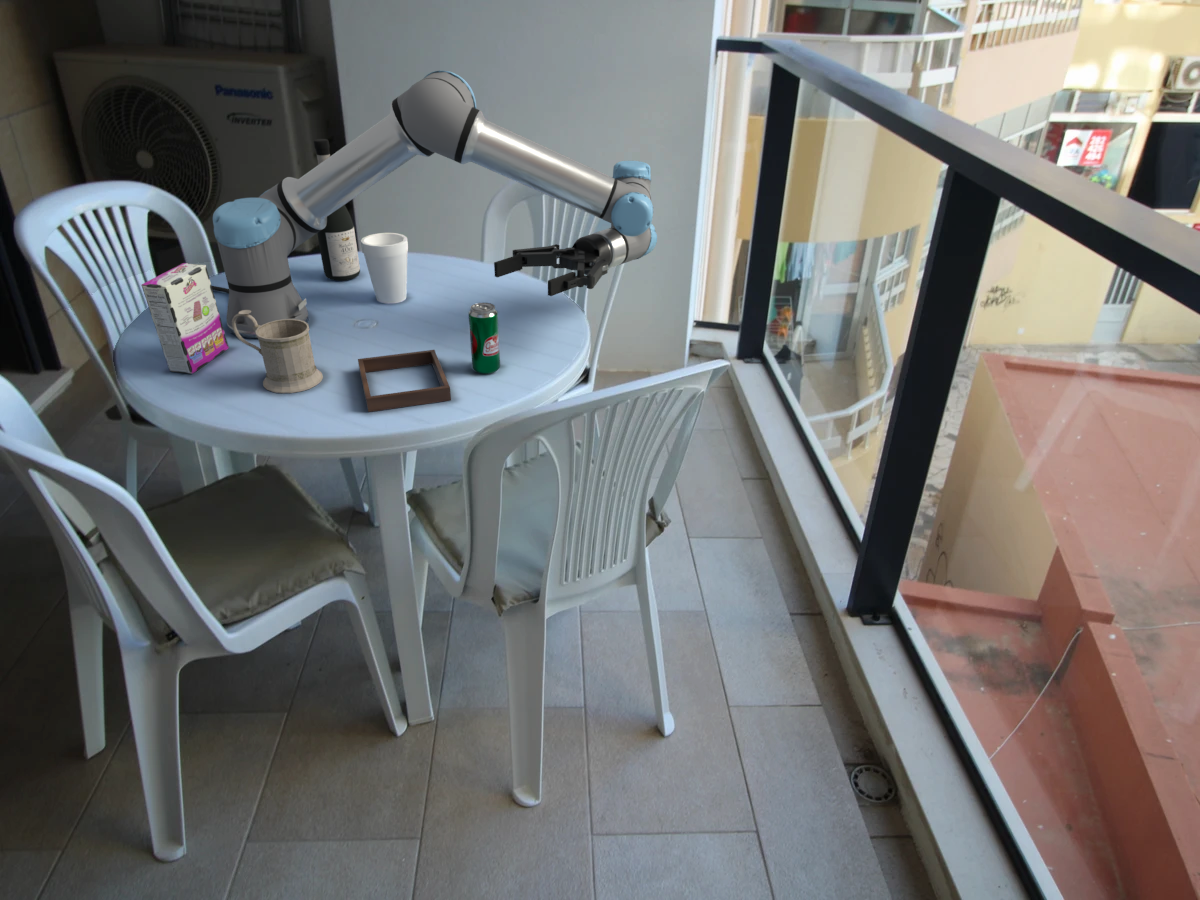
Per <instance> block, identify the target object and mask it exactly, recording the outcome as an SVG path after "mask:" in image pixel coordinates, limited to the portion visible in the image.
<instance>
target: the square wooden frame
mask: <svg viewBox="0 0 1200 900" xmlns="http://www.w3.org/2000/svg"><path fill="white" fill-rule="evenodd" d="M439 360H440V359H439V357H438V354H437V353H436V350H435V349H428V350H421V351H411V352H404V353H395V354H388V355H387V354H386V355H380V356H379V355H378V356H371V357H363V358H362V357H361V358H357V364H358V369H359V375H360V380H361V384H362V388H363V393H364V394H363V395H364V398H365V402H366V407H367V408H366V409H367V412H368V413H373V412H381V411H385V410H386V411H387V410H393V409H400V408H406V407H414V406H422V405H428V404H435V403H442V402H447V401H448V402H449V401H452V394H451V393H452V392H451V387H450V386H451V385H450V384H449V381H448V379H447V377H446V374H445V371H444V369H443V367H442V364H441V363H440V361H439ZM426 365H427V366H428V365H432V367H433V370H434V373H435V375H436V378H437V380H438V382H439V383H438V384H439V385H440V386H435V387H428V388H420V389H412V390H407V391H399V392H398V391H397V392H392V393H385V394H378V395H371V391H370V387H369V382H368V378H367V373H373V372H383V371H388V370H395V369H396V370H398V369H403V368H412V367H419V366H426Z"/></svg>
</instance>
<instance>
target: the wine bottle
mask: <svg viewBox="0 0 1200 900" xmlns="http://www.w3.org/2000/svg"><path fill="white" fill-rule="evenodd" d="M313 146H314V150H315V154H316V159H317V166H318V165H319V164H320V163H322V162H323V161H325V160H326V159H327V158H329V157H330V156H331V154H330V153H331V152H330V147H331V146H330V141H329V140H328V139H327V138H317V139H314V140H313ZM316 236H317V241H318V245H319V251H320V257H321V263H322V269H323V273H324V276H325V277H326V278H327V279H328V280H331V281H335V282H346V281H351V280H355V279H356V278H358V277H359V276H360V274H361V266H360V259H359V252H358V246H357V240H356V239H357V238H356V233H355V225H354V222H353V220H352V216H351V214H350V212H349V210H348V208H347V206H346V204H345V205H343V206H342V207H340V208H339V209H337V210H336V211H334V212H333V213H331V214H330V215H329V216H327V225H326V227H325V228H324V229H322V230H321V231H319V232H318V233H317V234H316Z"/></svg>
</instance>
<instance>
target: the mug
mask: <svg viewBox="0 0 1200 900" xmlns="http://www.w3.org/2000/svg"><path fill="white" fill-rule="evenodd" d="M238 313H239V314H237V315H235V316H234V317H233V319H232V327H233V330H234V332H235V334H236V335H235V334H234V335H235V336H236V338H237V339H238V340H239V341H240V342H242V344H245V345H246V346H248V347H250V348H252V349H254V350H256V351H257V352H258V353H259V354H260V355H261V356H262V360H263V364H264V369H265V378H264V379H263V381H262V385H263V388H264V389H265V390H267V391H269V392H272V393H275V394H295V393H301V392H304V391H308V390H311V389H312V388H314V387H317V385H319V384H320V383H321V382H322V381H323V379H324V376H323V372H322V371H321V370H319V369H318V368H317V365H316V363H315V357H314V353H313V347H312V342H311V337H310V333H309V331H310V326H309V325H310V324H309V323H306V322H304V321H301V320H295V319H283V320H276V321H272V322H268V323H266V324H263V325H258V324H257V321H256V320H255V318H254V317H252V316H251V315H249V313H251V311H250V310H242V311H240V312H238ZM241 316H245V317H248V318H249V319H251V320H252V322H253V323H254V326H253V330H254V332H256V337H257V338H256V339H258V343H259V346H258V345H256V344H253V343H251V342H249V341H248V340H246V339H245V338H244V337H241V336H240V334H239V332H238V330H237V328H236V323H235V322H236V319H237V318H238V317H241Z"/></svg>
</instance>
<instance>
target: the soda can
mask: <svg viewBox="0 0 1200 900" xmlns="http://www.w3.org/2000/svg"><path fill="white" fill-rule="evenodd" d="M498 313H499V312H498V311H497V309H496V306H495V305H494V304H493V303H491V302H477V303H474V304H472V305H470V307H469V311H468V327H469V328H468V329H469V341H470V357H471V367H472V370H474V372H475V373H477V374H480V375H491V374H494V373H496V372H498V371H499V369H500V368H501V352H500V333H499V332H500V331H499V330H500V329H499V314H498Z"/></svg>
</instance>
